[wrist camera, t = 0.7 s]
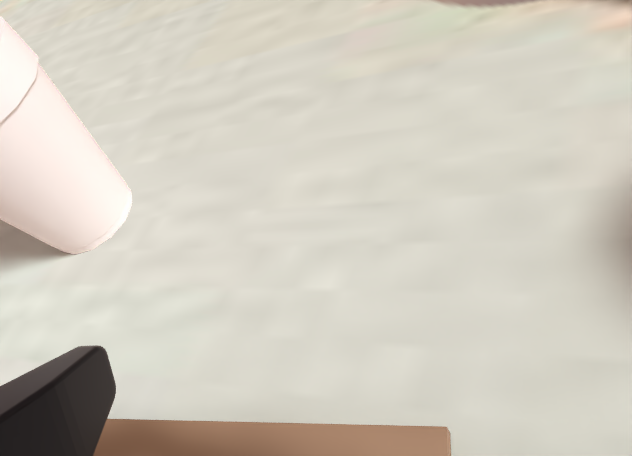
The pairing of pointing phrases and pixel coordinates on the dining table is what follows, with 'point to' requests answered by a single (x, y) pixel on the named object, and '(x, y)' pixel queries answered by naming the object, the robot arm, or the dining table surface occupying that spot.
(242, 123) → the dining table surface
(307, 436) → the dock
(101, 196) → the foam cup
